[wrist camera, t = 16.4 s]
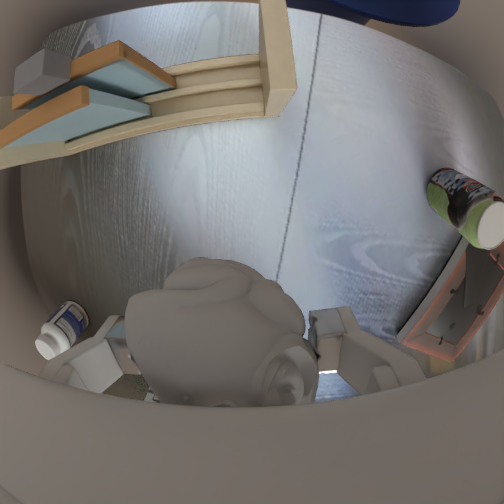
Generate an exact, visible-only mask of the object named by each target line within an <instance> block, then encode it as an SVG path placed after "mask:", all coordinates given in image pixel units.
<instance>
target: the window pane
mask: <svg viewBox="0 0 504 504" xmlns="http://www.w3.org/2000/svg"><path fill="white" fill-rule="evenodd" d="M80 85H84V86H88V87H89V88H90V89H94V90H98V91H102V92H106V93H110V94H113V95H117V96H121V97H124V98H128V99H131V100H132V99H136V98H140V97H144V96H147V95H151V94H155V93H160V92H164V91H169V90H173V89H176V79H175V78H174V77H172V76H171V75H170V74H168V73H167V72H165V71H164V70H163V69H161V68H160V67H158V66H157V65H156V64H154V63H153V62H151V61H150V60H148V59H147V58H145V57H144V56H143V55H141V54H140V53H138V52H137V51H135V50H134V49H132V48H130V47H129V46H127V45H126V44H125V43H123V42H122V41H120V40H118V41H116V42H113V43H110V44H108V45H105V46H103V47H100V48H98V49H96V50H93V51H91V52H89V53H87V54H85V55H82V56H80V57H78V58H76V59H74V60H72V61H71V56H69V55H66V54H63V53H59V52H56V51H53V50H50V49H46V48H44V49H42V50H41V51H39V52H38V53H36V54H35V55H33V56H32V57H30V58H29V59H27V60H26V61H25V62H23V63H22V64H21V65H19V66H18V67H17V68H16V69H15V80H14V94H16V95H14V96H13V97H12V110H21V109H32V110H33V109H35V108H36V107H38V106H40V105H42V104H44V103H45V102H47V101H49V100H51V99H53V98H55V97H57V96H59V95H61V94H63V93H65V92H67V91H69V90H71V89H73V88H76V87H78V86H80Z"/></svg>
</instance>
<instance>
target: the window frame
mask: <svg viewBox="0 0 504 504" xmlns="http://www.w3.org/2000/svg"><path fill="white" fill-rule="evenodd" d="M161 69H163V70H164V71H165V72H167V73H168V74H170V75H171V76H172V77H174V78H175V79H176V89H173V90H169V91H164V92H160V93H155V94H151V95H147V96H144V97H140V98H136V99H132V100H131V99H128V98H124V97H121V96H117V95H113V94H110V93H106V92H102V91H98V90H94V89H90V88H89V87H88V86H84V85H80V86H78V87H76V88H73V89H71V90H69V91H67V92H65V93H63V94H61V95H59V96H57V97H55V98H53V99H51V100H49V101H47V102H45V103H44V104H42V105H40V106H38V107H36V108H35V109H33V110H32V109H21V110H12V97H0V170H1V169H4V168H8V167H13V166H16V165H21V164H26V163H30V162H35V161H40V160H46V159H51V158H57V157H63V156H69V155H73V154H76V153H79V152H82V151H85V150H88V149H91V148H95V147H98V146H101V145H105V144H108V143H112V142H116V141H119V140H123V139H127V138H131V137H136V136H140V135H144V134H149V133H153V132H158V131H163V130H168V129H174V128H179V127H185V126H191V125H198V124H205V123H212V122H220V121H229V120H239V119H250V118H264V117H279V116H280V114H281V113H282V111H283V110H284V108H285V107H286V105H287V103H288V102H289V100H290V99H291V97H292V96H293V94H294V93H295V91H296V90H297V81H296V72H295V64H294V56H293V48H292V40H291V33H290V26H289V20H288V13H287V7H286V1H285V0H259V54H248V55H237V56H228V57H220V58H213V59H206V60H200V61H194V62H189V63H184V64H179V65H174V66H170V67H166V68H161Z"/></svg>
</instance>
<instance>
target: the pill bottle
mask: <svg viewBox="0 0 504 504" xmlns="http://www.w3.org/2000/svg"><path fill="white" fill-rule="evenodd" d="M87 326H88V317H87V314H86V312H85V311H84V309H83V308H82V307H81V306H80V305H79V304H77V303H75V302H73V301H67V302H65V303H64V304H63V305H62V306H61V307H60V308H59V309H58V310H57V311H56V312H55V313H54V314H53V315H52V316H51V317H50V318H49V319H48V320H47V321H46V323H44V325H43V326H42V328H41V335H40V336H39V337H38V338H37V340H36V341H35V345H36V347H37V349H38V351H39V352H40V354H41V355H42V356H43V357H44V358H46V359H47V360H50V359H52V358H54V357H55V356H57V355H59V354H61V353H63V352H64V351H66V350H68V349H70V348H71V347H72V346H73V344H74V343H75V342H76V340H77V339H78V338H79V336H80V335H81V334H82V332H83V331H84V330H85V329H86V327H87Z"/></svg>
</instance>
